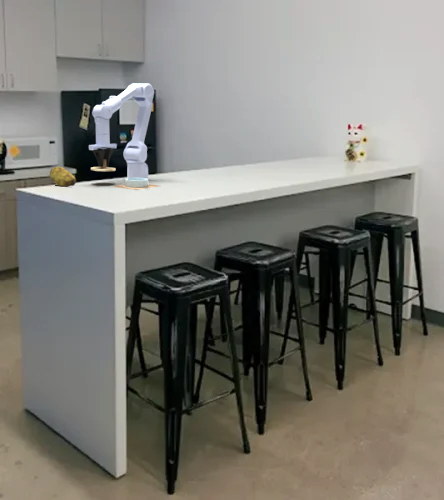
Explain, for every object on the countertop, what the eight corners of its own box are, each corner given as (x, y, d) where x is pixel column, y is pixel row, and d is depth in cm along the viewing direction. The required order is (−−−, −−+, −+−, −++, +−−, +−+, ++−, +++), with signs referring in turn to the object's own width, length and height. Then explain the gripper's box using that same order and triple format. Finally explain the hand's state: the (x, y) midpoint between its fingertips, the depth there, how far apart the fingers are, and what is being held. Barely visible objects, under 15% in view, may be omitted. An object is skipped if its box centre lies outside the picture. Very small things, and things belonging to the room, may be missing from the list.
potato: (59, 188, 263) (58, 169, 261) (47, 184, 273) (46, 166, 271) (78, 187, 268) (77, 168, 266) (65, 183, 277) (64, 165, 276)
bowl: (135, 183, 274) (135, 177, 274) (152, 186, 269) (152, 179, 268) (120, 186, 266) (120, 179, 266) (137, 188, 261) (137, 181, 261)
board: (136, 185, 278) (136, 182, 278) (161, 188, 271) (161, 185, 271) (111, 188, 265) (111, 186, 265) (136, 192, 258) (136, 189, 258)
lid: (103, 168, 277) (103, 158, 276) (120, 170, 271) (120, 160, 270) (85, 169, 268) (85, 159, 267) (103, 171, 263) (103, 161, 262)
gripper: (107, 132, 274) (108, 164, 277) (83, 134, 262) (84, 166, 266) (119, 133, 270) (120, 165, 273) (95, 135, 259) (96, 168, 262)
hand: (103, 166), depth 269 cm, fingers closed on lid, 3 cm apart
